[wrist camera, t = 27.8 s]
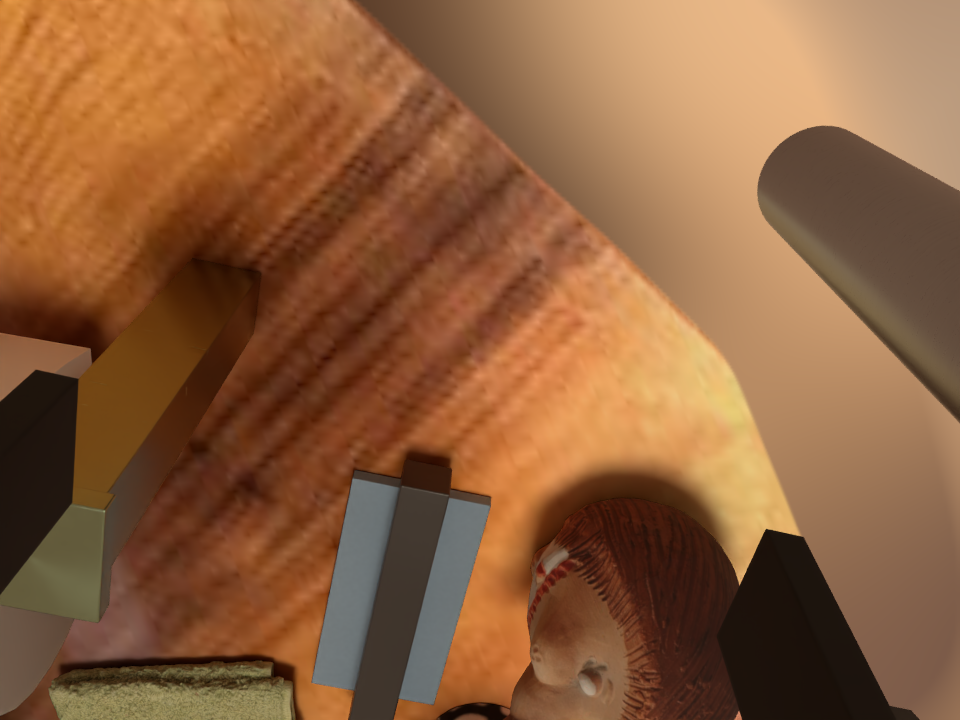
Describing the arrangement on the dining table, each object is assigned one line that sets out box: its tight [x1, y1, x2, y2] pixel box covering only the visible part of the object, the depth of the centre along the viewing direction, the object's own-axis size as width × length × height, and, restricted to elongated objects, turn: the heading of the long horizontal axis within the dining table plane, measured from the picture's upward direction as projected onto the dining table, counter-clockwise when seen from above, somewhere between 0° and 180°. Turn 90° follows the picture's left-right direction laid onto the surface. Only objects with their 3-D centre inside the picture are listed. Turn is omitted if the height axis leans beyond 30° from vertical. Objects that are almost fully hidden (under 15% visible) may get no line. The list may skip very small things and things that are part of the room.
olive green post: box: [0, 258, 261, 623], centre depth 41 cm, size 5×5×24 cm
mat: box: [312, 470, 491, 705], centre depth 60 cm, size 18×9×1 cm, turn 167°
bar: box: [348, 460, 452, 720], centre depth 59 cm, size 22×3×3 cm, turn 167°
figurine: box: [503, 498, 739, 720], centre depth 53 cm, size 14×16×15 cm
